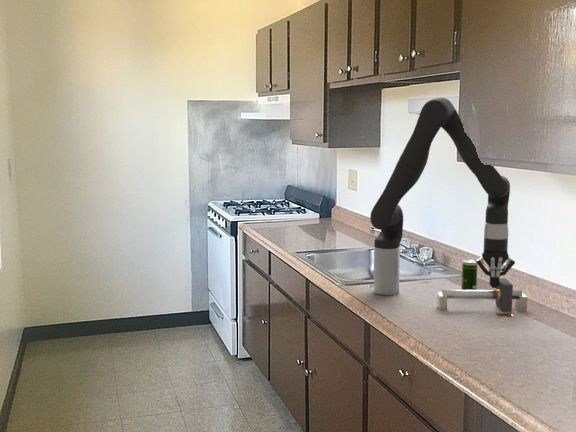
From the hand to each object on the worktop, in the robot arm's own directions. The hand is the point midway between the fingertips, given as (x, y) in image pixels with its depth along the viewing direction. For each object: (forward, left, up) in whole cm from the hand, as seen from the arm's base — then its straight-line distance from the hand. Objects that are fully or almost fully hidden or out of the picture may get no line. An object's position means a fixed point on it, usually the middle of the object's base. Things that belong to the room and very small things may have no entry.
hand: (494, 287), depth 216 cm
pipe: (+3, -4, -8) cm, 9 cm away
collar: (0, +3, -8) cm, 8 cm away
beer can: (-20, -4, -8) cm, 22 cm away
